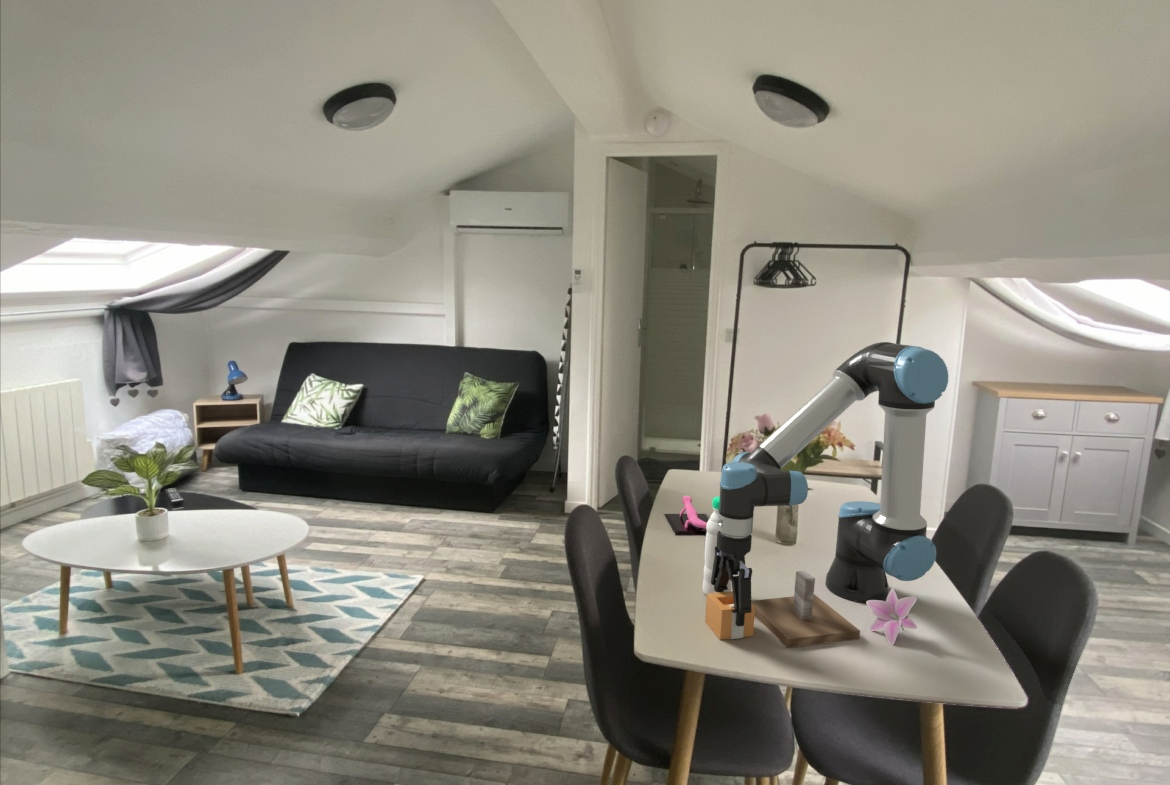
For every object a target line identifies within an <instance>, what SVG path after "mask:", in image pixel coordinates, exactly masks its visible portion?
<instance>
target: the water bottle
mask: <svg viewBox="0 0 1170 785" xmlns="http://www.w3.org/2000/svg"><path fill="white" fill-rule="evenodd" d="M719 503H720V496H715V497H713V498H712V501H711V505H712V509H713V512H712V513H711V515H710V516H709V518H710V519H709V520H708V522H707V525H706V529H707V533H706V535H705V544H704V545H705V546H704V567H703V581H702V592H703V594H704V595H705V596H707V594H709V593H715V592H716V591H715V590H714V585H712V584H711V577H712V571H713V564H714V558H715V546H717V532H718V531H719V530H718V523H717V519H718V518H719ZM716 579H717V578H716ZM727 587H728V590H724V591H726V592H729V591H732V583H731V580H730V579H729V581H728V584H727Z"/></svg>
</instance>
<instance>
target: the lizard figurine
mask: <svg viewBox="0 0 1170 785" xmlns="http://www.w3.org/2000/svg"><path fill="white" fill-rule="evenodd" d="M681 503H682V504H683V505H684V506H683V508H682V509H681V510H680V513H664V514H663V516H664V515H665V516H664V518H665V517H666V518H665V520H666V519H667V520H666V521H667V523H668V524H670V525H669V527H670V526H671V527H670V529H671V528H672V529H671V530H672V532H673V534H674V533H675V534H674V535H675V536H706V533H707V529H706V525H707V522H708V520H709V519H710V516H709V515H708V513H698V512H697V510H696V509H695V507H694V505H693V504H692V503H693V498H692V497H691V496H690V495H683V496H682V502H681ZM684 512H686V513H684Z"/></svg>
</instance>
